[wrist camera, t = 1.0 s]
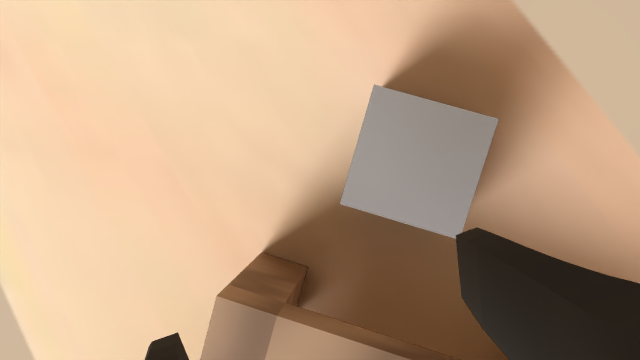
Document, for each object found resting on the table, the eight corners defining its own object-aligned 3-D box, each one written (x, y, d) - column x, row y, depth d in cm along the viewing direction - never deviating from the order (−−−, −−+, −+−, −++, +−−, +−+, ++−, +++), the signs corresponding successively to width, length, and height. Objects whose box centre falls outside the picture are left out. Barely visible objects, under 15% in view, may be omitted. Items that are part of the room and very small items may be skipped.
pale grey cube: (480, 118, 26) (499, 118, 21) (449, 217, 27) (459, 240, 22) (379, 90, 27) (373, 84, 22) (350, 188, 28) (339, 204, 23)
